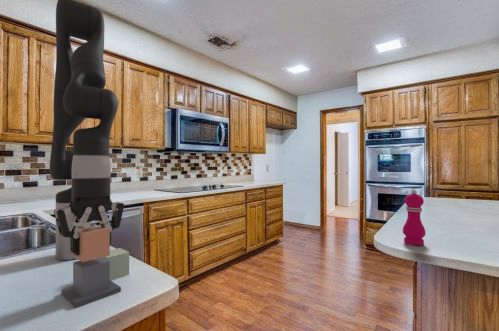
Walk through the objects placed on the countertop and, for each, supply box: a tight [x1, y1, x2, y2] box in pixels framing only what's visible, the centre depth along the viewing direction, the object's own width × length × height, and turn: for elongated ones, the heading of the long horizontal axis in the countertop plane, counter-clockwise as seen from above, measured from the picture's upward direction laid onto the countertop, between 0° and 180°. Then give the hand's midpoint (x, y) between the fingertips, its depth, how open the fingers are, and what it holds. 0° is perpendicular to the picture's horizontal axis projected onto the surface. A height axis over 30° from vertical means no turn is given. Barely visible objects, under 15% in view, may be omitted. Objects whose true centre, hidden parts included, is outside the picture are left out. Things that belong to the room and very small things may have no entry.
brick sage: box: [103, 247, 130, 281], centre depth 69 cm, size 6×6×6 cm
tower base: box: [60, 257, 122, 309], centre depth 60 cm, size 9×9×7 cm
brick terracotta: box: [73, 224, 111, 262], centre depth 60 cm, size 6×6×6 cm
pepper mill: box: [402, 189, 426, 246], centre depth 98 cm, size 7×7×20 cm
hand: (91, 250), depth 60 cm, fingers closed on brick terracotta, 5 cm apart
